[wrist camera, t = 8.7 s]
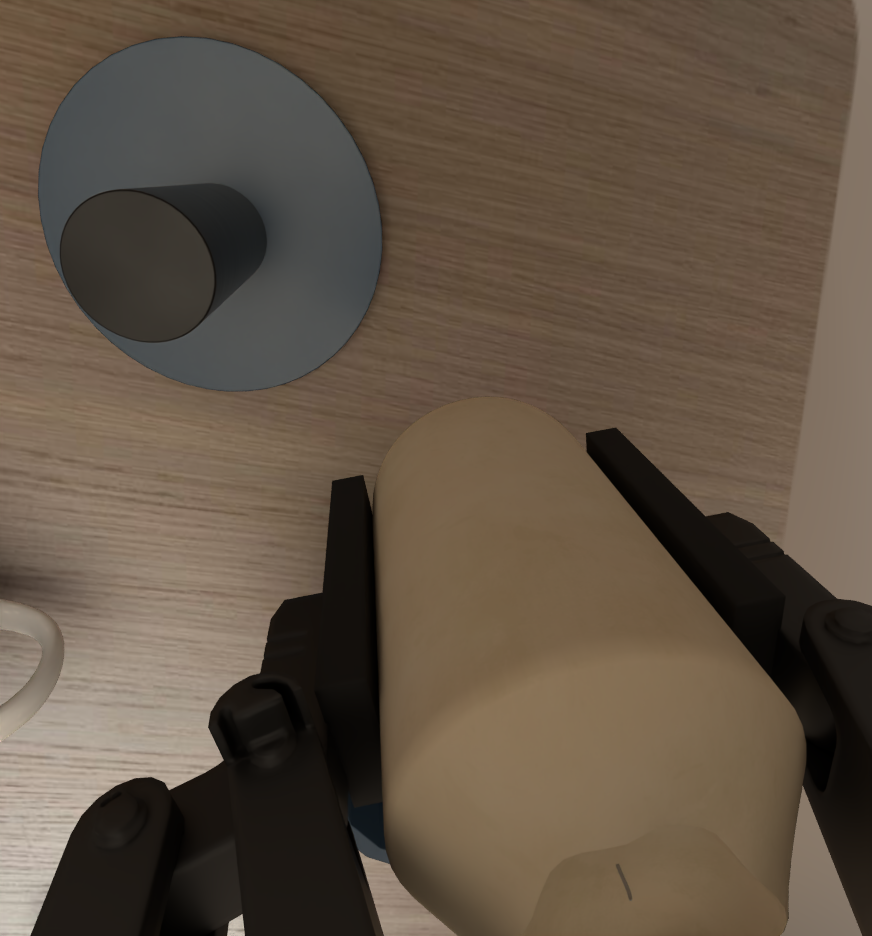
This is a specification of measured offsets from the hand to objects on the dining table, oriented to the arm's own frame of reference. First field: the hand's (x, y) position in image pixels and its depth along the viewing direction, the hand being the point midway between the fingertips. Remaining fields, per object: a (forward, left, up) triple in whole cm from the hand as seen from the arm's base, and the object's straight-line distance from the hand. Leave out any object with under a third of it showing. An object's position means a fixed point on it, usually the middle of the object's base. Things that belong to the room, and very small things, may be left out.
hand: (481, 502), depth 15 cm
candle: (0, 0, -1) cm, 1 cm away
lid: (+8, -6, -15) cm, 18 cm away
